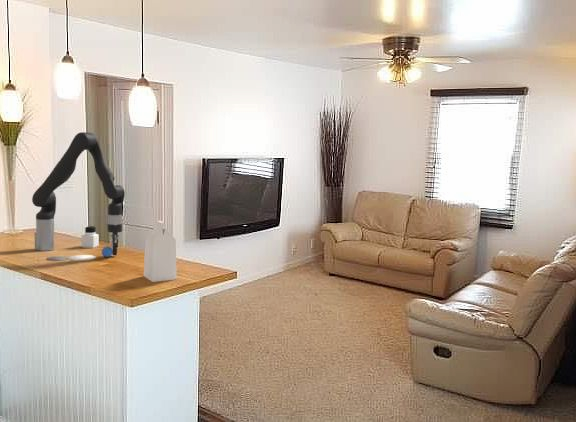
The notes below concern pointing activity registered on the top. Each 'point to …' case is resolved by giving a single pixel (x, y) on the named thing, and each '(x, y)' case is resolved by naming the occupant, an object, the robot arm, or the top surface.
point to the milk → (160, 255)
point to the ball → (107, 251)
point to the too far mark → (56, 258)
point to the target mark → (81, 257)
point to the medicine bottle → (90, 238)
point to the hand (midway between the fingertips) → (114, 254)
